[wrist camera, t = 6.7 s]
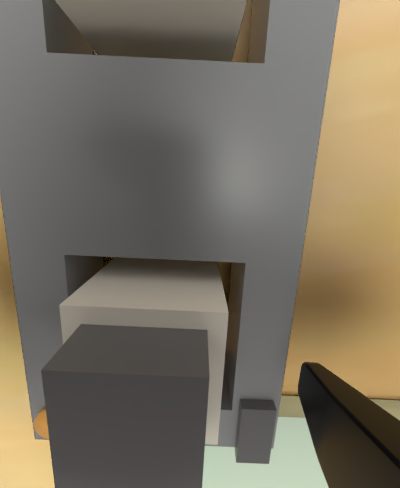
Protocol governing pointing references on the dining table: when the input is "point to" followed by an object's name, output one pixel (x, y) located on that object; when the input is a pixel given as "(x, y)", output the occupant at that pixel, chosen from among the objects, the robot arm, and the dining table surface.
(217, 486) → the parts tray
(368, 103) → the dining table surface
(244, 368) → the grey socket board
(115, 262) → the plug
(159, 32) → the twin plug
